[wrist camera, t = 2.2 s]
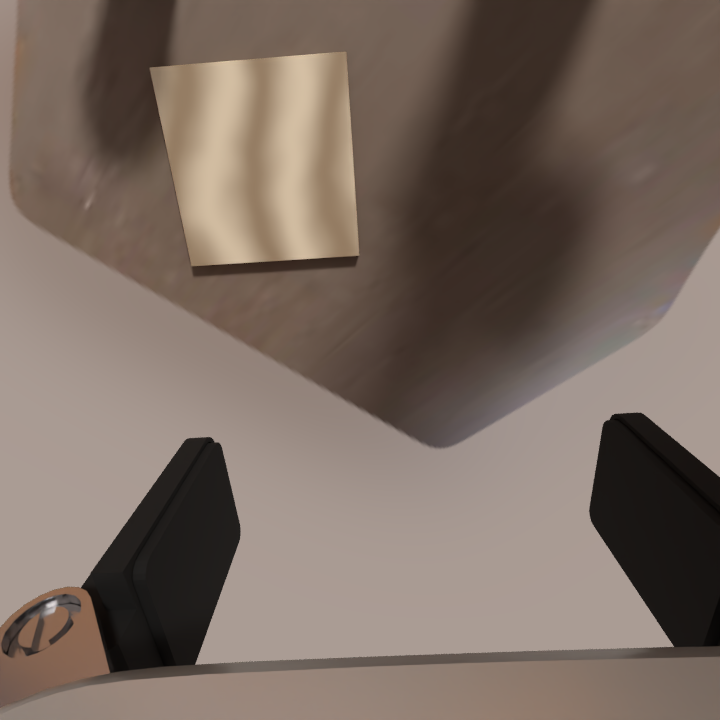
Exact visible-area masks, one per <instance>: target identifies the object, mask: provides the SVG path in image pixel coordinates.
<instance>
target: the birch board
mask: <svg viewBox="0 0 720 720" xmlns="http://www.w3.org/2000/svg"><path fill="white" fill-rule="evenodd" d="M150 72H151V77H152V82H153V86H154V91H155V96H156V100H157V105H158V110H159V115H160V119H161V124H162V129H163V134H164V138H165V143H166V148H167V152H168V157H169V162H170V167H171V171H172V176H173V181H174V185H175V190H176V195H177V200H178V204H179V209H180V214H181V219H182V223H183V228H184V233H185V237H186V242H187V247H188V252H189V256H190V261H191V266H204V265H220V264H235V263H251V262H267V261H283V260H298V259H314V258H330V257H346V256H359V239H358V224H357V208H356V192H355V177H354V161H353V145H352V129H351V114H350V98H349V82H348V67H347V54H346V52H335V53H323V54H310V55H298V56H286V57H274V58H261V59H249V60H237V61H224V62H212V63H200V64H188V65H175V66H163V67H151V68H150Z"/></svg>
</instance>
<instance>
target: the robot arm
mask: <svg viewBox="0 0 720 720" xmlns="http://www.w3.org/2000/svg"><path fill="white" fill-rule="evenodd" d="M589 512H590V518H591V521H592V523H593V525H594V527H595V528H596V530H597V531H598V533H599V534H600V536H601V537H602V539H603V540H604V542H605V543H606V545H607V546H608V548H609V549H610V551H611V552H612V554H613V555H614V557H615V558H616V560H617V561H618V563H619V564H620V566H621V568H622V569H623V571H624V572H625V573H626V575H627V576H628V578H629V580H630V581H631V582H632V584H633V586H634V587H635V588H636V590H637V591H638V593H639V595H640V596H641V598H642V599H643V601H644V602H645V604H646V605H647V606H648V608H649V609H650V611H651V613H652V614H653V616H654V617H655V618H656V620H657V622H658V623H659V624H660V626H661V628H662V629H663V631H664V632H665V633H666V635H667V636H668V638H669V640H670V641H671V643H672V644H673V646H674V647H662V648H661V647H660V648H623V649H590V650H589V649H588V650H554V651H523V652H492V653H463V654H435V655H406V656H378V657H353V658H329V659H304V660H280V661H257V662H256V661H255V662H235V663H219V664H202V665H195V663H196V660H197V658H198V655H199V652H200V649H201V647H202V644H203V641H204V638H205V635H206V633H207V630H208V627H209V624H210V621H211V619H212V616H213V613H214V610H215V607H216V605H217V602H218V599H219V596H220V594H221V591H222V588H223V585H224V582H225V579H226V577H227V574H228V571H229V568H230V565H231V563H232V560H233V557H234V554H235V552H236V549H237V546H238V543H239V540H240V523H239V519H238V515H237V511H236V507H235V502H234V498H233V493H232V489H231V485H230V481H229V476H228V472H227V468H226V463H225V459H224V455H223V451H222V447H221V445H220V444H219V443H214V441H213V439H212V438H210V437H206V438H189V439H186V440H185V441H184V443H183V444H182V445H181V447H180V448H179V450H178V451H177V453H176V454H175V455H174V457H173V458H172V459H171V461H170V462H169V464H168V465H167V467H166V468H165V469H164V471H163V472H162V474H161V475H160V476H159V478H158V479H157V481H156V482H155V483H154V485H153V486H152V488H151V489H150V490H149V492H148V493H147V495H146V496H145V497H144V499H143V500H142V502H141V503H140V504H139V506H138V507H137V509H136V510H135V512H134V513H133V514H132V516H131V517H130V519H129V520H128V522H127V523H126V524H125V526H124V527H123V528H122V530H121V531H120V533H119V534H118V535H117V537H116V538H115V540H114V541H113V542H112V544H111V545H110V547H109V548H108V549H107V551H106V552H105V554H104V555H103V557H102V558H101V560H100V561H99V562H98V564H97V565H96V566H95V568H94V569H93V571H92V572H91V574H90V576H89V577H88V578H87V580H86V581H85V583H84V584H83V585H82V587H81V588H79V587H64V588H60V589H55V590H52V591H50V592H47V593H45V594H42V595H40V596H38V597H37V598H35V599H33V600H32V601H30V602H28V603H27V604H25V605H24V606H23V607H21V608H20V609H19V610H17V611H16V612H15V613H14V614H12V615H11V616H10V617H9V618H8V619H7V621H6V622H5V623H4V624H3V625H2V626H1V627H0V720H720V477H719V476H717V475H716V474H715V473H714V472H713V471H711V470H710V469H709V468H708V467H707V466H706V465H704V464H703V463H702V462H701V461H700V460H698V459H697V458H696V457H695V456H693V455H692V454H691V453H690V452H689V451H687V450H686V449H685V448H684V447H682V446H681V445H680V444H679V443H678V442H677V441H675V440H674V439H673V438H672V437H671V436H669V435H668V434H667V433H666V432H664V431H663V430H662V429H661V428H660V427H658V426H657V425H656V424H655V423H653V422H652V421H651V420H650V419H649V418H648V417H646V416H645V415H644V414H642V413H623V414H614V415H612V417H611V418H610V420H607V421H606V422H604V424H603V428H602V435H601V441H600V447H599V453H598V460H597V465H596V471H595V478H594V484H593V490H592V496H591V502H590V510H589Z"/></svg>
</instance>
